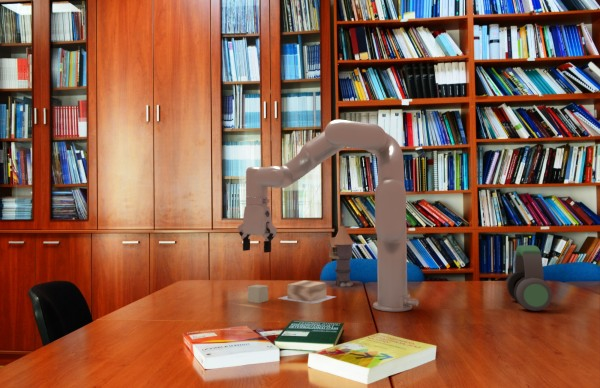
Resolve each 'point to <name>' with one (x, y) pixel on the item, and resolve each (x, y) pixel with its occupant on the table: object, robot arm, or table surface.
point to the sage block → (257, 293)
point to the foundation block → (306, 290)
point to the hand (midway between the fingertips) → (256, 251)
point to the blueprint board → (308, 301)
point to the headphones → (529, 280)
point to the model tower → (341, 255)
